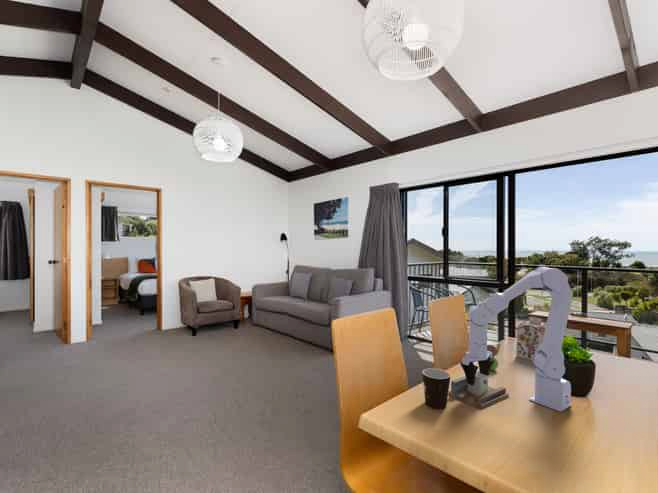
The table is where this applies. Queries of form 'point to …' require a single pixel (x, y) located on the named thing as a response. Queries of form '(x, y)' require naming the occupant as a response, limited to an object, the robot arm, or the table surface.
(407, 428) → the table surface
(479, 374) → the cabinet block
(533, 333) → the decorative jar
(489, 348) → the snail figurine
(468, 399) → the cleat board
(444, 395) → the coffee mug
